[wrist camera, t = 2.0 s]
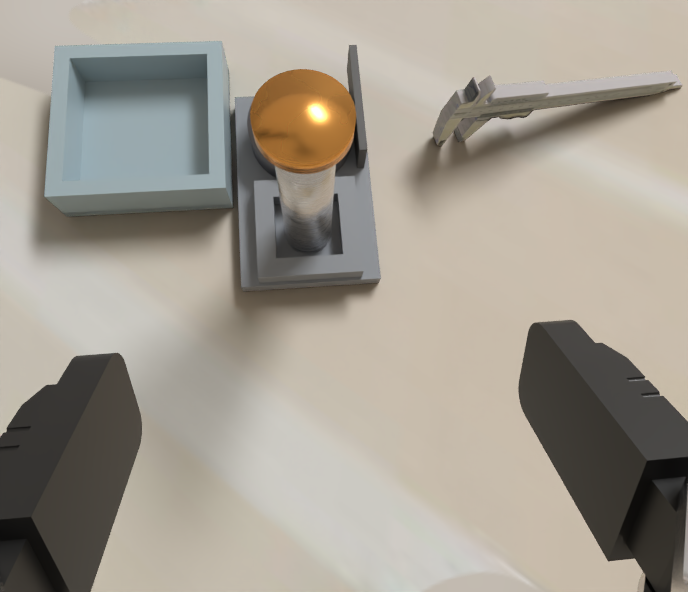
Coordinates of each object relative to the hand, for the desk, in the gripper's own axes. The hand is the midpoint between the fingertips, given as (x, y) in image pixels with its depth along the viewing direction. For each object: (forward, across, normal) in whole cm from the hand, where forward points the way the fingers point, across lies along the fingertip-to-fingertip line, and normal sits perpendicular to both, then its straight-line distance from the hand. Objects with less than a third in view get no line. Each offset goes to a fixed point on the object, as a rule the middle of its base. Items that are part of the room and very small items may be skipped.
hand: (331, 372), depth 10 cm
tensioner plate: (+26, 0, +5) cm, 27 cm away
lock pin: (+23, 0, +7) cm, 24 cm away
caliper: (+31, -19, +2) cm, 36 cm away
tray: (+30, +11, +2) cm, 32 cm away
